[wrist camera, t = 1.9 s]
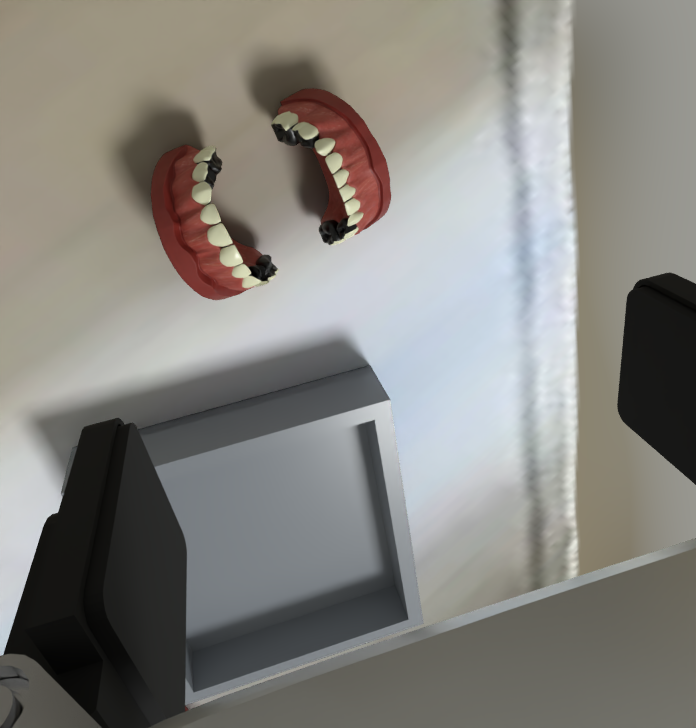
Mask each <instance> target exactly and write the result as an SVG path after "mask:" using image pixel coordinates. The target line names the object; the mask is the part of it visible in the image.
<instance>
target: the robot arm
mask: <svg viewBox="0 0 696 728" xmlns="http://www.w3.org/2000/svg"><path fill="white" fill-rule="evenodd" d="M617 405H618V412H619V415H620V417H621V419H622V420H623V422H624V423H625V424H626V425H627V426H629V427H630V428H631V429H632V430H633V431H634V432H636V433H637V434H638V435H639V436H640V437H641V438H642V439H644V440H645V441H646V442H647V443H648V444H649V445H651V446H652V447H653V448H654V449H655V450H656V451H657V452H659V453H660V454H661V455H662V456H663V457H664V458H665V459H667V460H668V461H669V462H670V463H671V464H672V465H674V466H675V467H676V468H677V469H678V470H679V471H680V472H682V473H683V474H684V475H685V476H686V477H687V478H689V479H690V480H691V481H692V482H693V483H694V484H695V485H696V284H695V283H693V282H691V281H689V280H687V279H684V278H682V277H680V276H678V275H676V274H673V273H665V274H661V275H657V276H653V277H650V278H646V279H642V280H639V281H638V282H637V283H636V284H635V286H634V288H633V290H631V291H630V292H629V294H628V296H627V303H626V314H625V326H624V336H623V348H622V359H621V371H620V383H619V393H618V404H617ZM186 591H187V548H186V542H185V538H184V534H183V532H182V529H181V527H180V525H179V522H178V520H177V518H176V516H175V513H174V511H173V509H172V506H171V504H170V502H169V500H168V497H167V495H166V493H165V490H164V488H163V486H162V484H161V481H160V479H159V477H158V474H157V472H156V470H155V468H154V465H153V463H152V461H151V458H150V456H149V454H148V452H147V449H146V447H145V445H144V442H143V440H142V438H141V436H140V433H139V431H138V429H137V427H136V425H135V424H134V423H129V424H125V425H124V423H123V422H122V420H121V419H119V418H115V419H112V420H108V421H104V422H100V423H97V424H93V425H89V426H86V427H84V428H83V430H82V433H81V436H80V440H79V443H78V446H77V450H76V453H75V457H74V460H73V464H72V467H71V471H70V474H69V477H68V481H67V484H66V488H65V491H64V495H63V498H62V502H61V505H60V508H59V512H58V513H56V514H52V515H51V516H50V517H48V518H47V520H46V522H45V524H44V527H43V530H42V533H41V536H40V539H39V543H38V546H37V549H36V552H35V555H34V559H33V562H32V565H31V568H30V571H29V575H28V578H27V581H26V584H25V587H24V591H23V594H22V597H21V600H20V603H19V607H18V610H17V613H16V616H15V619H14V623H13V626H12V629H11V632H10V635H9V639H8V642H7V645H6V648H5V651H4V654H3V655H2V656H0V728H696V538H695V539H692V540H689V541H685V542H682V543H679V544H676V545H673V546H670V547H667V548H664V549H661V550H658V551H655V552H652V553H649V554H646V555H642V556H639V557H636V558H633V559H630V560H627V561H624V562H621V563H618V564H615V565H612V566H609V567H606V568H603V569H600V570H596V571H593V572H590V573H587V574H584V575H581V576H578V577H575V578H572V579H569V580H566V581H563V582H560V583H557V584H554V585H551V586H548V587H545V588H541V589H538V590H535V591H532V592H529V593H526V594H523V595H520V596H517V597H514V598H511V599H508V600H505V601H502V602H499V603H496V604H493V605H490V606H487V607H484V608H481V609H478V610H475V611H472V612H469V613H466V614H463V615H460V616H457V617H454V618H451V619H448V620H445V621H442V622H439V623H436V624H433V625H430V626H427V627H424V628H421V629H418V630H415V631H412V632H409V633H406V634H403V635H400V636H397V637H394V638H391V639H388V640H385V641H382V642H379V643H376V644H373V645H370V646H367V647H364V648H361V649H358V650H355V651H352V652H349V653H346V654H343V655H340V656H337V657H334V658H331V659H328V660H325V661H323V662H320V663H317V664H314V665H311V666H308V667H305V668H303V669H300V670H297V671H294V672H291V673H288V674H286V675H283V676H280V677H277V678H274V679H271V680H268V681H266V682H263V683H260V684H257V685H254V686H251V687H249V688H246V689H243V690H240V691H237V692H234V693H231V694H229V695H226V696H223V697H221V698H218V699H216V700H213V701H211V702H208V703H206V704H203V705H201V706H198V707H196V708H193V709H191V710H188V711H186V712H185V678H186Z"/></svg>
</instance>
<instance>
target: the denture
mask: <svg viewBox="0 0 696 728" xmlns="http://www.w3.org/2000/svg"><path fill="white" fill-rule="evenodd" d="M280 103H281V105H282V106H281V107H280V108H279V109H278V116H277V117H276V118H275V119H274V120H273V122H272V124H271V126H272V128H273V130H274V132H275V134H276V137H277V139H278V141H280V142H284V143H285V144H287V145H290V146H295V145H297V144H299V143H300V142H301V146H303V147H306V148H312V149H313V151H314V153H315V155H316V157H317V159H318V161H319V164H320V166H321V168H322V171H323V174H324V176H325V179H326V182H327V185H328V190H329V202H328V206H327V209H326V211H325V213H324V215H323V217H322V220H321V225H320V227H319V232H320V234H321V236H322V239H323V242H324V243H328V244H329V245H336V244H340V243H342V242H344V241H345V240H346V239H348V238H351V237H352V236H353V235H356V234H358V233H360V232H361V231H362V230H365V229H367V228H368V227H369V226H371V225H372V224H374V223H375V222H376V221H378V220H379V219H380V218H381V217H383V216H384V215H385V213H386V212H387V210H388V208H389V204H390V200H391V192H390V178H389V172H388V167H387V163H386V159H385V157H384V155H383V153H382V151H381V149H380V147H379V145H378V143H377V141H376V140H375V138H374V137H373V135H372V134H371V132H370V131H369V129H368V127H367V125H366V124H365V122H364V120H363V119H362V118H361V117H360V116H359V115H358V113H357V112H356V111H355V110H354V109H353V108H352V107H351V106H350V105H348V104H347V103H346V102H345V101H343V100H342V99H340V98H338V97H337V96H335V95H333V94H332V93H330V92H328V91H325V90H320V89H314V88H310V89H303V90H300V91H298V92H296V93H295V94H293V95H291V96H289V97H288V98H286V99H284V100H282V101H281V102H280ZM221 166H222V161H221V159H220V158H218V157H217V155H216V147H215V146H208V147H206V148H204V149H202V150H201V151H200V150H198V149H195V148H193V147H191V146H189V145H183V146H181V147H178V148H176V149H174V150H171V151H169V152H167V153H165V154H163V156H162V157H161V158H160V160H159V161H158V163H157V165H156V167H155V170H154V173H153V177H152V186H151V199H152V210H153V217H154V221H155V224H156V228H157V231H158V234H159V236H160V239H161V242H162V245H163V247H164V250H165V252H166V254H167V256H168V258H169V259H170V261H171V263H172V265H173V266H174V268H175V269H176V271H177V272H178V274H179V275H180V276H181V278H182V279H183V280H184V281H185V282H186V283H187V284H188V285H189V286H190V287H191V288H192V289H193V290H194V291H195V292H197V293H198V294H200V295H201V296H203V297H205V298H208V299H212V300H221V299H225V298H229V297H232V296H235V295H238V294H240V293H242V292H244V291H246V290H248V289H251V288H253V287H254V286H261V285H265V284H267V283H268V282H269V280H271V279H273V278H274V277H275V276H276V274H277V273H278V268H276V266H275V265H273V264H272V262H271V257H270V256H269V255H262V254H261V253H260V252H259V251H257V250H256V249H254V248H252V247H248V246H244V245H242V244H240V243H238V242H236V241H235V240H234V239H232V238H231V237H230V235H229V233H228V231H227V230H226V228H225V226H224V225H223V224H222V223H220V221H221V219H220V216H219V213H218V211H217V209H216V207H215V205H214V204H209V203H210V201H211V193H212V189H213V187H214V183H215V181H216V175H217V174H219V172H220V171H221V169H222V168H221Z"/></svg>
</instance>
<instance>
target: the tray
mask: <svg viewBox="0 0 696 728" xmlns="http://www.w3.org/2000/svg"><path fill="white" fill-rule="evenodd" d="M138 431H139V433H140V436H141V438H142V440H143V442H144V445H145V447H146V449H147V452H148V454H149V456H150V458H151V461H152V463H153V465H154V468H155V470H156V472H157V474H158V477H159V479H160V481H161V484H162V486H163V488H164V490H165V493H166V495H167V497H168V500H169V502H170V504H171V506H172V509H173V511H174V513H175V516H176V518H177V520H178V522H179V525H180V527H181V529H182V532H183V534H184V538H185V542H186V548H187V591H186V678H185V705H188V704H191V703H193V702H196V701H199V700H202V699H205V698H208V697H211V696H214V695H217V694H220V693H223V692H226V691H228V690H231V689H234V688H237V687H240V686H243V685H246V684H249V683H252V682H255V681H258V680H261V679H263V678H266V677H269V676H272V675H275V674H278V673H281V672H284V671H287V670H290V669H293V668H296V667H299V666H301V665H304V664H307V663H310V662H313V661H316V660H319V659H322V658H325V657H328V656H331V655H334V654H336V653H339V652H342V651H345V650H348V649H351V648H354V647H357V646H360V645H363V644H366V643H369V642H371V641H374V640H377V639H380V638H383V637H386V636H389V635H392V634H395V633H398V632H401V631H404V630H406V629H409V628H412V627H415V626H418V625H421V624H424V623H423V617H422V610H421V603H420V597H419V590H418V583H417V577H416V570H415V563H414V556H413V550H412V543H411V536H410V530H409V523H408V516H407V510H406V503H405V496H404V489H403V483H402V476H401V469H400V463H399V456H398V449H397V443H396V436H395V429H394V422H393V416H392V409H391V402H390V399H389V397H388V395H387V393H386V392H385V390H384V388H383V387H382V385H381V383H380V381H379V380H378V378H377V376H376V375H375V373H374V371H373V370H372V368H371V366H367V367H363V368H360V369H356V370H352V371H349V372H345V373H342V374H338V375H334V376H331V377H327V378H323V379H320V380H316V381H313V382H309V383H305V384H302V385H298V386H294V387H291V388H287V389H284V390H280V391H276V392H273V393H269V394H266V395H262V396H258V397H255V398H251V399H247V400H244V401H240V402H237V403H233V404H229V405H226V406H222V407H218V408H215V409H211V410H208V411H204V412H200V413H197V414H193V415H189V416H186V417H182V418H179V419H175V420H171V421H168V422H164V423H161V424H157V425H153V426H150V427H146V428H142V429H139V430H138ZM76 450H77V447H74V448H73V449H72V452H71V456H70V460H69V464H68V468H67V472H66V476H65V480H64V484H63V487H62V491H61V495H62V496H63V495H64V491H65V488H66V484H67V481H68V477H69V474H70V471H71V467H72V464H73V460H74V457H75V453H76Z"/></svg>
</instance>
